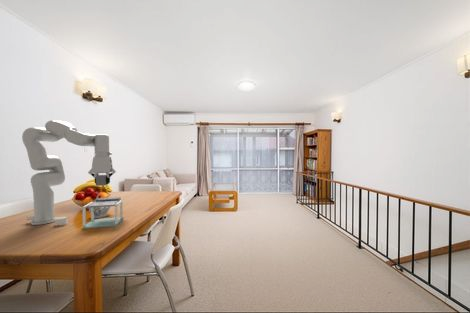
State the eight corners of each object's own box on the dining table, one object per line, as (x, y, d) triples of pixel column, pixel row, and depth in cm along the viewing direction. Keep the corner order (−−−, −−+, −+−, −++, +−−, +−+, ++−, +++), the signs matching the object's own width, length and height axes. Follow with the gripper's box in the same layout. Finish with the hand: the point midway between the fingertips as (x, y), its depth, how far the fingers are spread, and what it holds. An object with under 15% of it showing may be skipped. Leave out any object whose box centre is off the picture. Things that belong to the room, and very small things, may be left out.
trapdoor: (86, 211, 120) (86, 204, 120) (97, 204, 136) (97, 198, 136) (114, 209, 124) (114, 202, 124) (122, 202, 140) (122, 197, 140)
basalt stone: (99, 184, 127) (99, 174, 127) (108, 184, 128) (108, 174, 128) (96, 185, 122) (96, 175, 122) (105, 185, 123) (105, 175, 123)
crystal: (113, 214, 145) (113, 193, 145) (91, 219, 135) (91, 196, 134) (108, 212, 151) (108, 192, 151) (87, 216, 141) (86, 195, 141)
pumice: (55, 226, 123) (55, 219, 123) (57, 224, 126) (56, 217, 126) (66, 224, 126) (65, 218, 125) (67, 222, 129) (67, 216, 129)
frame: (81, 228, 118) (81, 207, 118) (92, 220, 132) (92, 201, 132) (116, 225, 123) (116, 205, 122) (123, 218, 137) (123, 199, 137)
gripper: (119, 154, 131) (119, 182, 131) (88, 154, 126) (89, 183, 127) (115, 154, 123) (116, 184, 124) (83, 154, 119) (83, 185, 119)
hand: (102, 183), depth 125 cm, fingers closed on basalt stone, 5 cm apart
